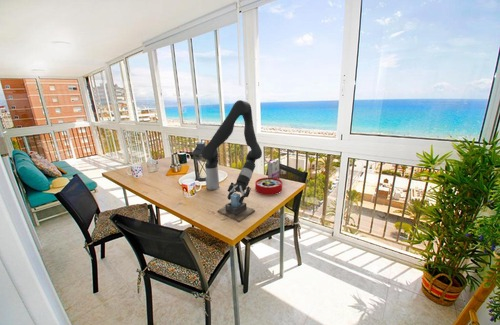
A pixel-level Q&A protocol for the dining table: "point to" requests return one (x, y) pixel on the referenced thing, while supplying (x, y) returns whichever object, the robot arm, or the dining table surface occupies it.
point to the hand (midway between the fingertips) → (234, 201)
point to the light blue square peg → (235, 200)
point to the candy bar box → (273, 168)
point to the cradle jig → (236, 211)
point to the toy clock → (268, 186)
